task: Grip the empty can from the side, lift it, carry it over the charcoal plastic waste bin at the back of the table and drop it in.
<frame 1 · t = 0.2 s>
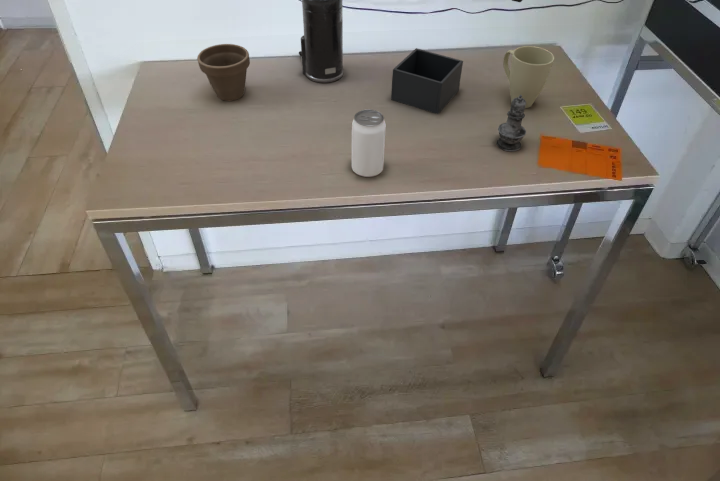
flower pot: (229, 95, 133), on the table
mug: (517, 101, 133), on the table
waste bin: (425, 95, 135), on the table
can: (367, 169, 114), on the table
grey chess piece: (508, 145, 121), on the table
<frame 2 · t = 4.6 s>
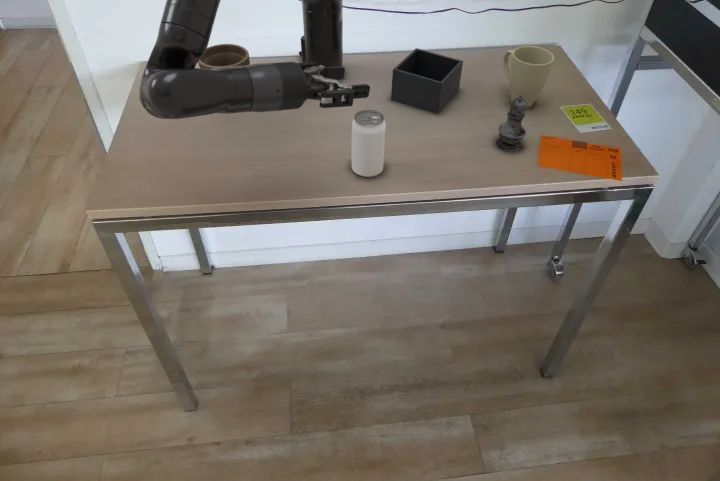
hand: (355, 81, 99), 20 cm above the table, tool horizontal, fingers open, 8 cm apart
nothing on the table moved.
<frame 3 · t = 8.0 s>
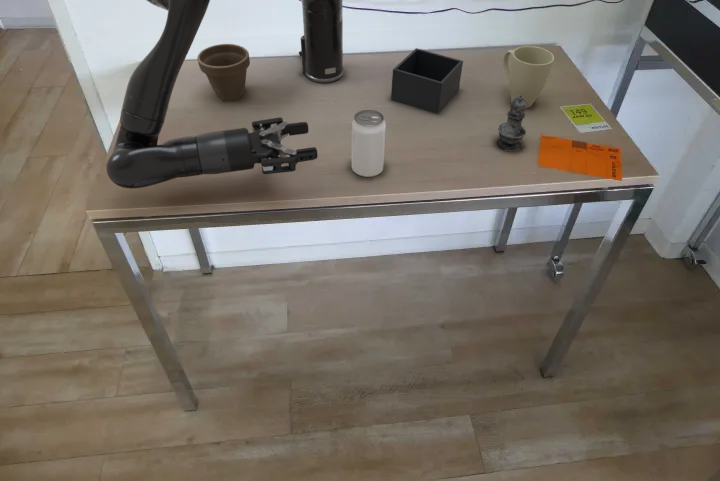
hand: (312, 139, 106), 9 cm above the table, tool horizontal, fingers open, 8 cm apart
nothing on the table moved.
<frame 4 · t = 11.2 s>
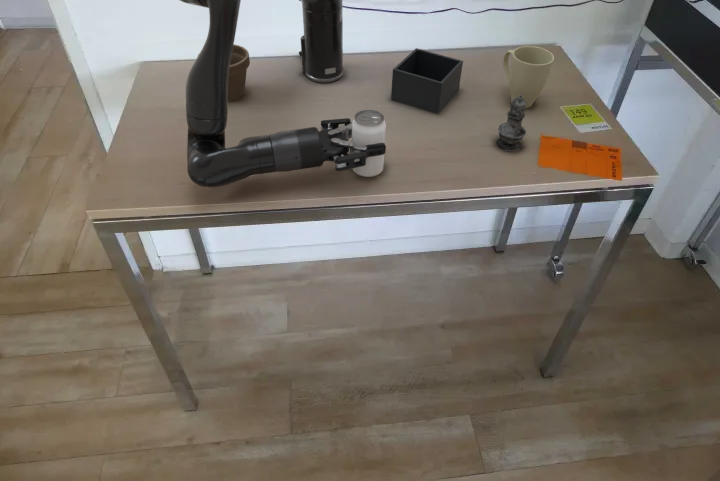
hand: (379, 137, 110), 7 cm above the table, tool horizontal, fingers closed on can, 6 cm apart
can: (367, 169, 114), on the table, touching gripper
everything else where it was.
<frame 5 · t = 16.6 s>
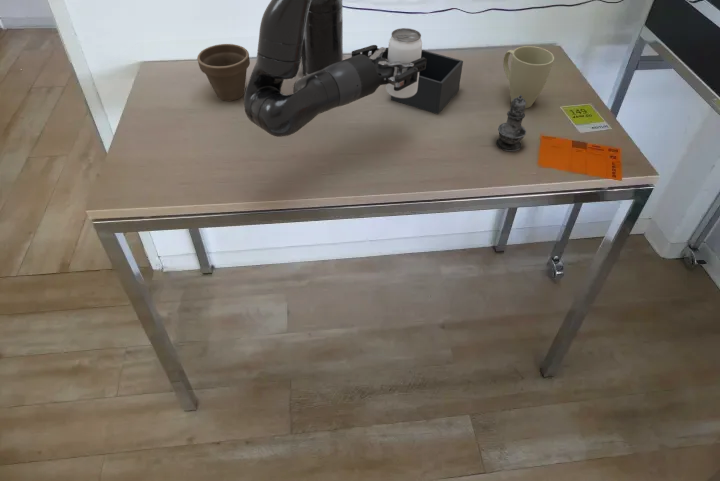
hand: (412, 55, 111), 18 cm above the table, tool horizontal, fingers closed on can, 6 cm apart
can: (401, 92, 115), point 10 cm above the table, touching gripper
everything else where it was.
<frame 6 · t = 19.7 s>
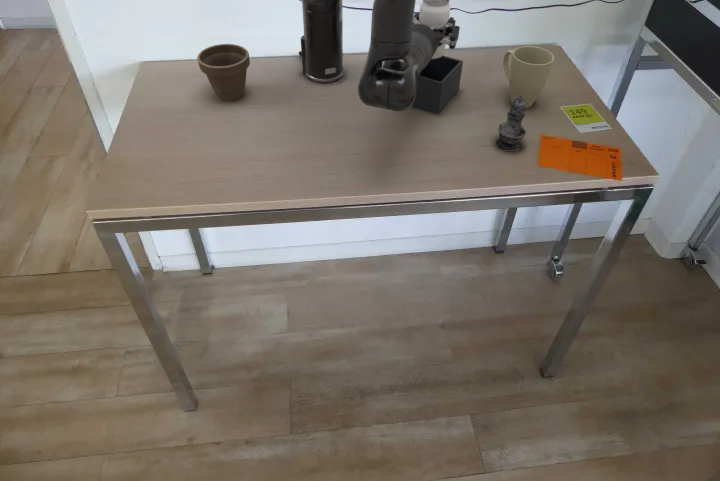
hand: (435, 18, 124), 18 cm above the table, tool horizontal, fingers closed on can, 6 cm apart
can: (429, 54, 127), point 10 cm above the table, touching gripper
everything else where it was.
when the fingers open (12 cm above the table, at t = 22.3 s): can drops 4 cm, resting on waste bin.
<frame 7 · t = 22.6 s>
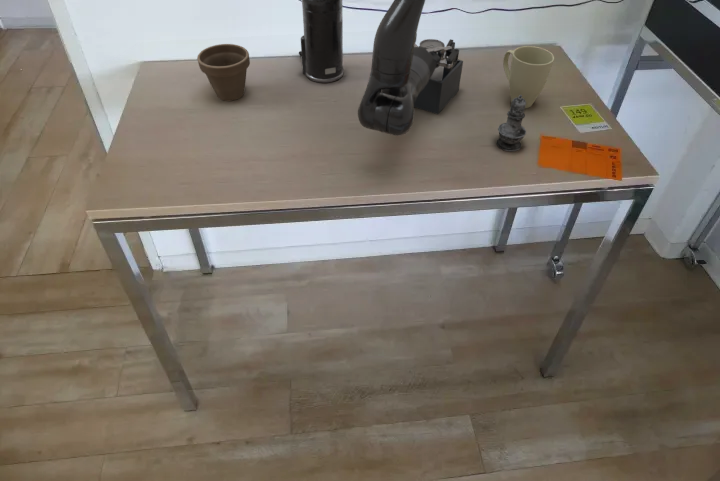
hand: (433, 40, 127), 13 cm above the table, tool horizontal, fingers open, 8 cm apart
can: (426, 93, 134), point 1 cm above the table, touching waste bin
everything else where it was.
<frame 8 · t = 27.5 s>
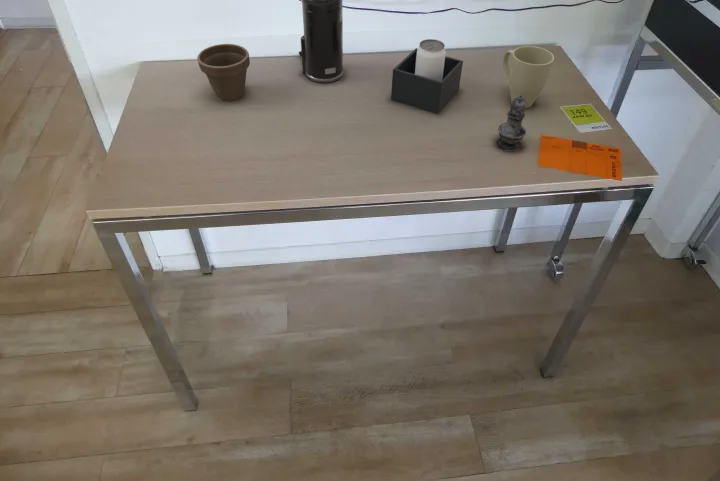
nothing on the table moved.
at the end: can inside the target area in the waste bin (0.4 cm from its centre), point 0.6 cm above the waste bin's base; the gripper is holding nothing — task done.
